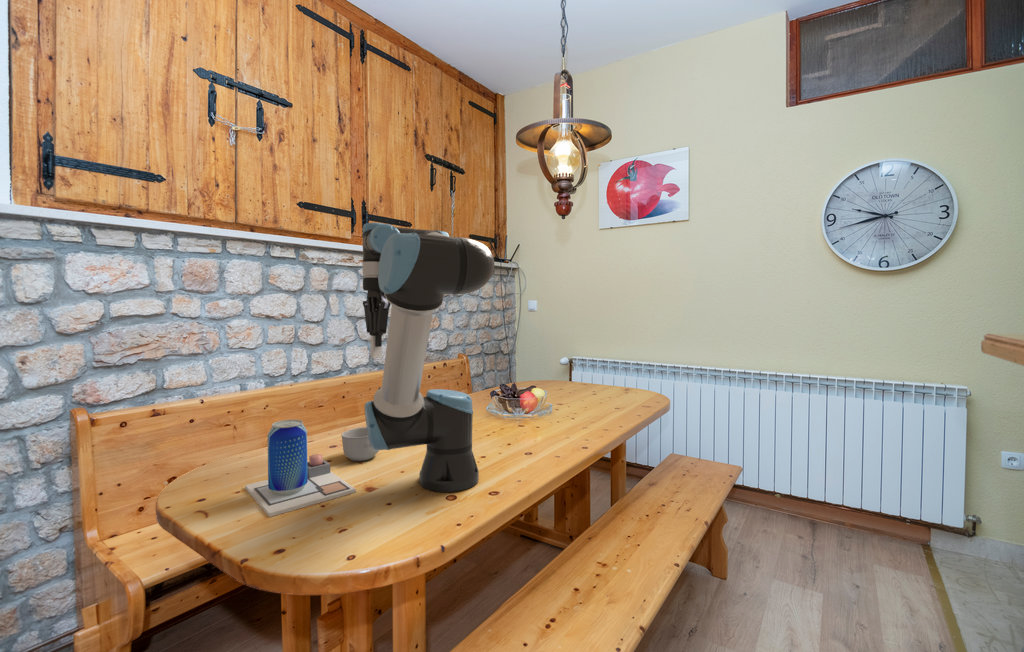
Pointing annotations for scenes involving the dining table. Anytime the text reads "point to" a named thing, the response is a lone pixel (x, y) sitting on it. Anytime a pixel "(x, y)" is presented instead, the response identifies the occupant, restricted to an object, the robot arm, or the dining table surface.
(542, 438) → the dining table surface
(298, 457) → the beer can
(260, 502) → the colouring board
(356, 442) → the teacup
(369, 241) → the robot arm
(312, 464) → the button
